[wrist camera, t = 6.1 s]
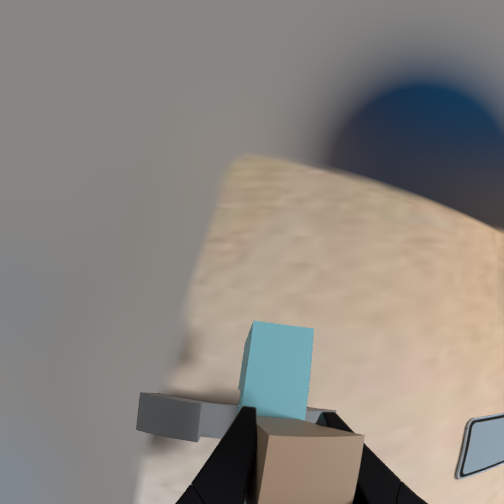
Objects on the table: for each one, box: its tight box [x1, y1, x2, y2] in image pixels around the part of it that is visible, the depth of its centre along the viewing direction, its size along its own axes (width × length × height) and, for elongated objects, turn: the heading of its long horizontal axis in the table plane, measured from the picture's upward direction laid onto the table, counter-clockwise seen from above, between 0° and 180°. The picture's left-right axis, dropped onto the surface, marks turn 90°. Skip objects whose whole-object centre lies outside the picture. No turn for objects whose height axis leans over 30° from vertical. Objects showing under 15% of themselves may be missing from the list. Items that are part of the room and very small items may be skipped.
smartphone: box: [456, 413, 504, 479], centre depth 16 cm, size 7×1×15 cm
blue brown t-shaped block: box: [237, 321, 364, 504], centre depth 8 cm, size 10×2×10 cm, turn 172°
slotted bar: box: [136, 393, 336, 442], centre depth 16 cm, size 12×2×5 cm, turn 85°
